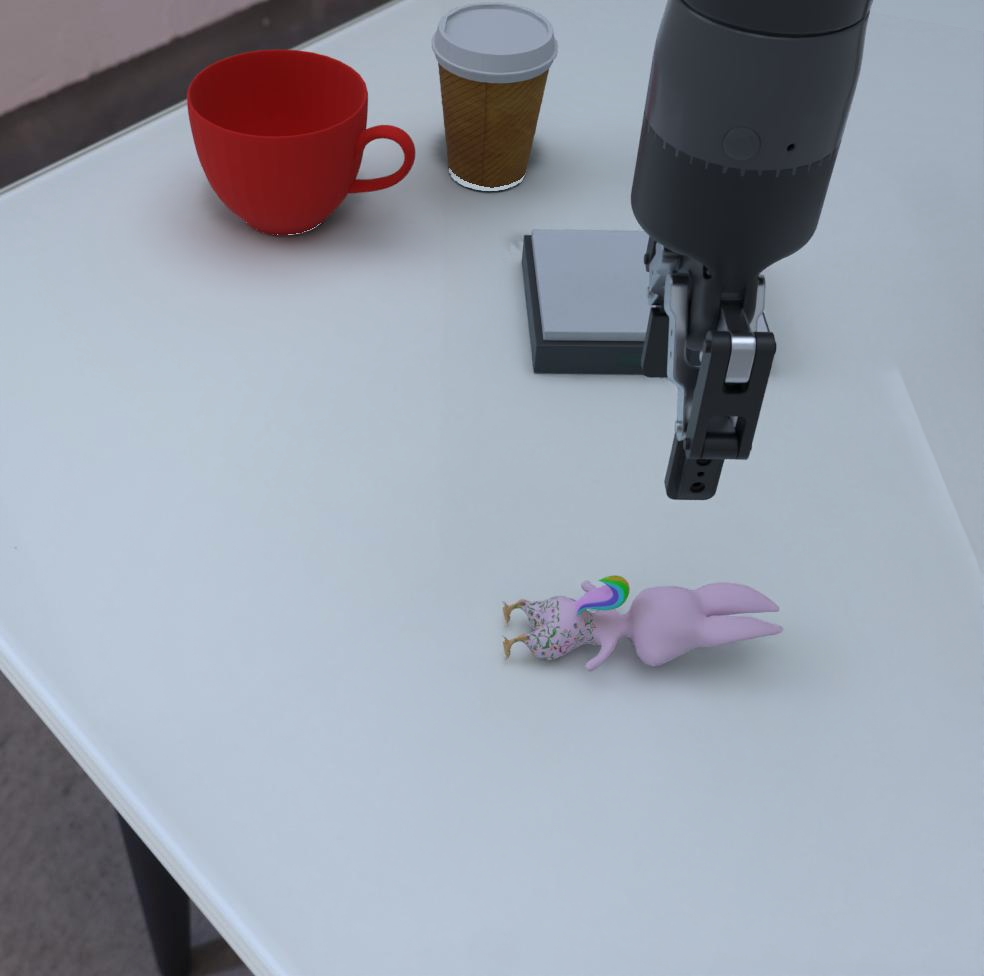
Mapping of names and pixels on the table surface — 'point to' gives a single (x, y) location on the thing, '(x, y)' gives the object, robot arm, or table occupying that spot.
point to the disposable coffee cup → (492, 87)
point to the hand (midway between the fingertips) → (674, 430)
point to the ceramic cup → (285, 136)
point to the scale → (589, 301)
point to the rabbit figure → (643, 620)
